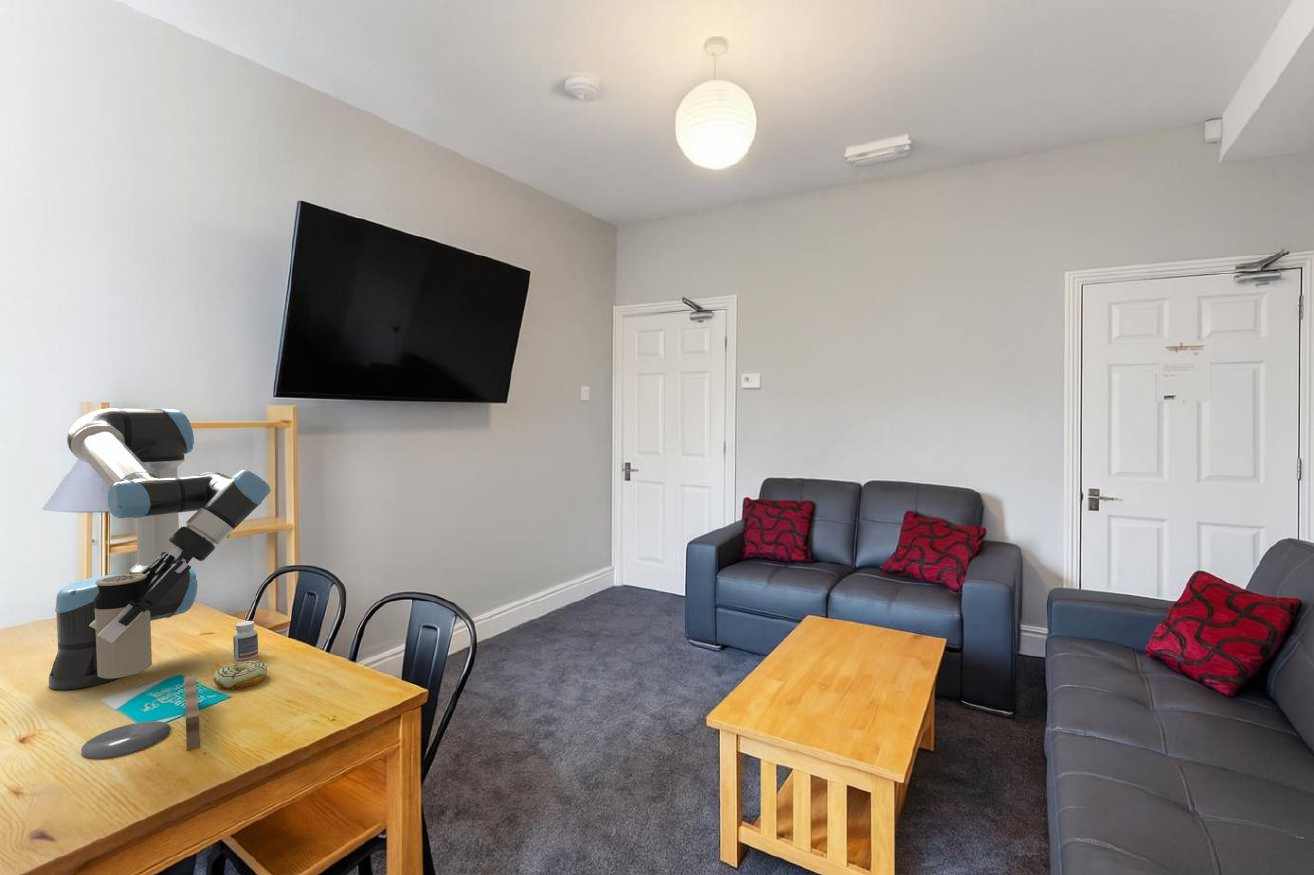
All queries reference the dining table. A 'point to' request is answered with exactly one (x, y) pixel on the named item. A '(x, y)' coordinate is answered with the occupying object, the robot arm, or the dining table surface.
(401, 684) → the dining table surface
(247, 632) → the pill bottle
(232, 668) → the decorated donut
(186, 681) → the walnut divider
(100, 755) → the grey oval pebble
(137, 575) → the travel mug
